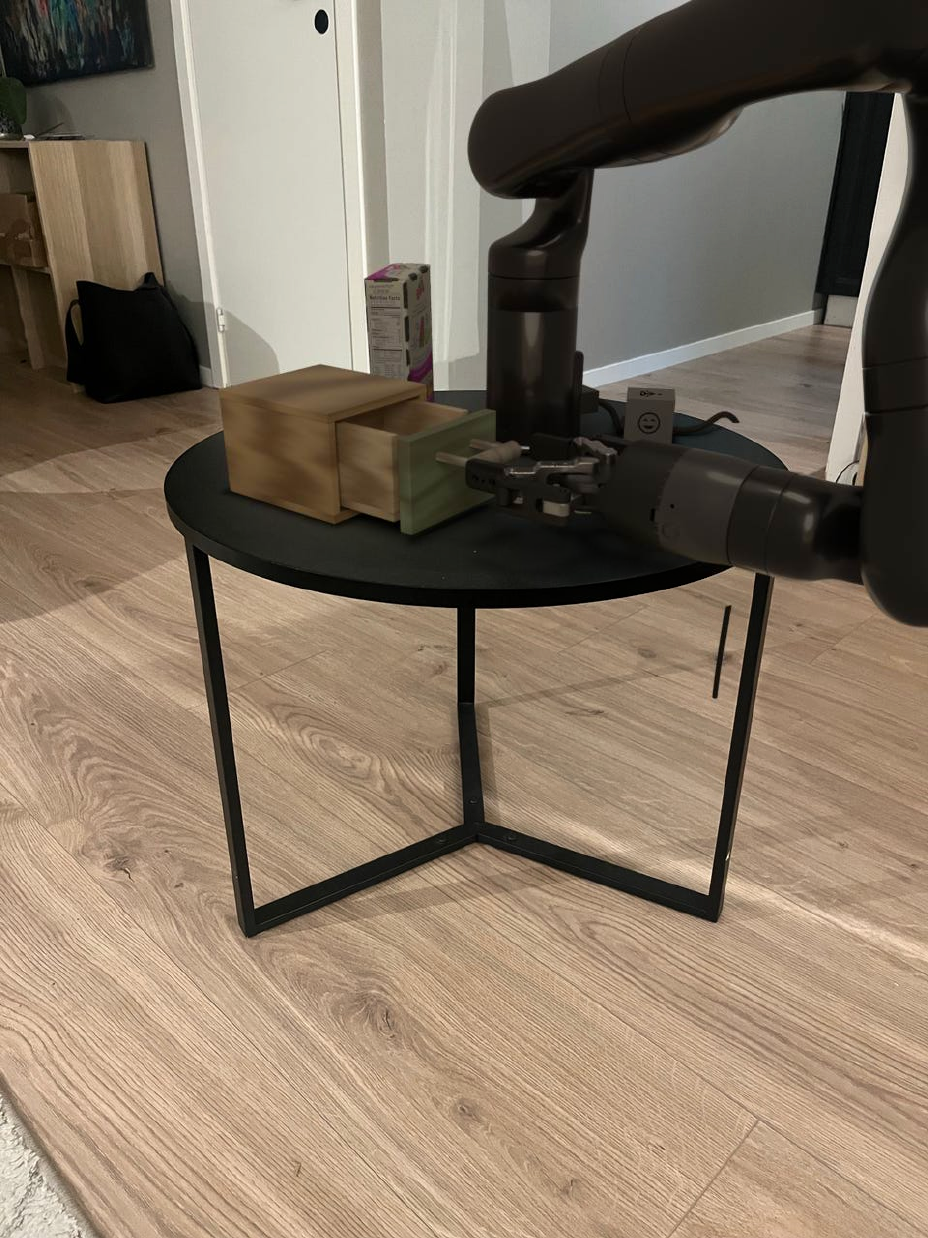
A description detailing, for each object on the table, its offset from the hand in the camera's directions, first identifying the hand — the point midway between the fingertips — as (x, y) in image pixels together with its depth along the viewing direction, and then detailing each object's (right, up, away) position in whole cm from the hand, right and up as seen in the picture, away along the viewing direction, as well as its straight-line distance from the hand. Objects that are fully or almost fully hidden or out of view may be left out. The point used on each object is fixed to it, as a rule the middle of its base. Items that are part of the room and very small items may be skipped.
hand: (500, 458), depth 76 cm
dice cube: (+17, +7, +28) cm, 33 cm away
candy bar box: (-10, +11, +35) cm, 38 cm away
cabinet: (-16, -1, +14) cm, 21 cm away
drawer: (-7, -3, +7) cm, 10 cm away
